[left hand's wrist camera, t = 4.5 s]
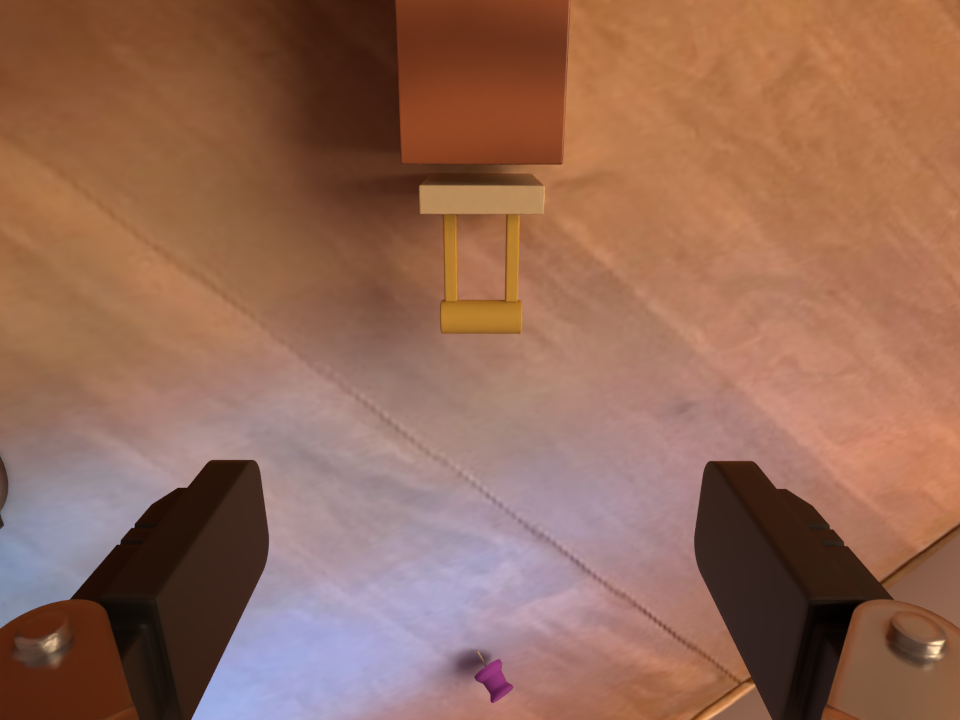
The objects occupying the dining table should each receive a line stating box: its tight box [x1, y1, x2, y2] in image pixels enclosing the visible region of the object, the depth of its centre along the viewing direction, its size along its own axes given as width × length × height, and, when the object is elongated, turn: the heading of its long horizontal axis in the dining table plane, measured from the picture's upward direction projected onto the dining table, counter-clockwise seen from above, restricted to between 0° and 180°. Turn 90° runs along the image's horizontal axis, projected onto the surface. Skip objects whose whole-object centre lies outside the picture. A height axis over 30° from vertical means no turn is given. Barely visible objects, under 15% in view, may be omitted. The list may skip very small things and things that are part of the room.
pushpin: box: [475, 651, 513, 703], centre depth 44 cm, size 2×3×3 cm
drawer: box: [419, 174, 545, 334], centre depth 28 cm, size 24×5×7 cm, turn 0°
